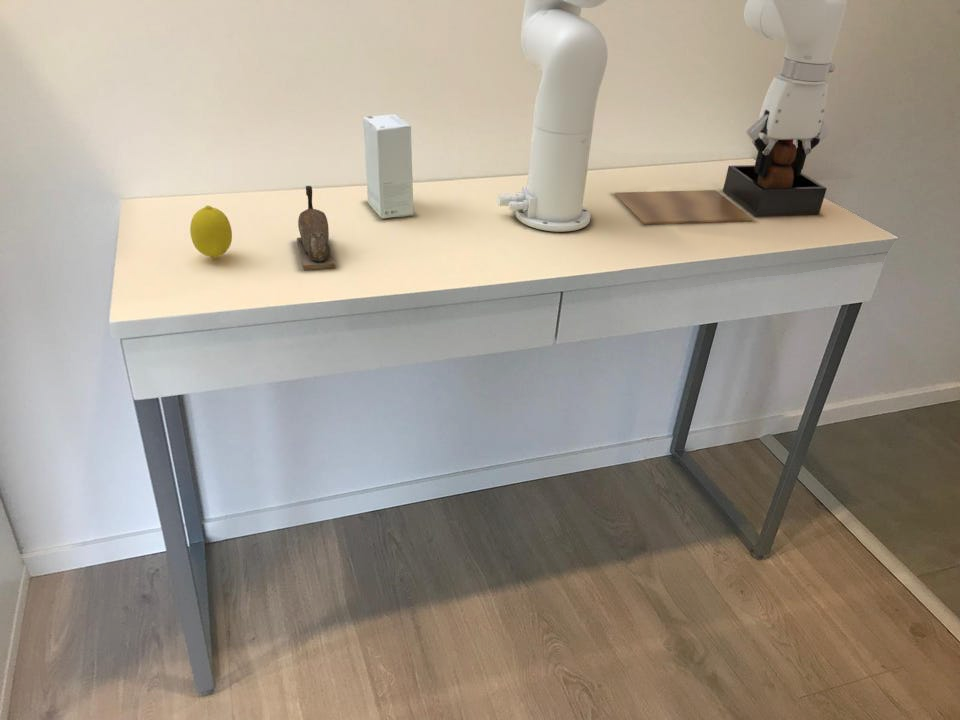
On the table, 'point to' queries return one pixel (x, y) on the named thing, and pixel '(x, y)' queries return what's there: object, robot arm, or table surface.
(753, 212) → the box
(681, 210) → the brown wooden board
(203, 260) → the table surface
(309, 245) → the figurine
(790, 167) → the wooden figurine
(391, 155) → the cosmetic box
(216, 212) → the lemon
